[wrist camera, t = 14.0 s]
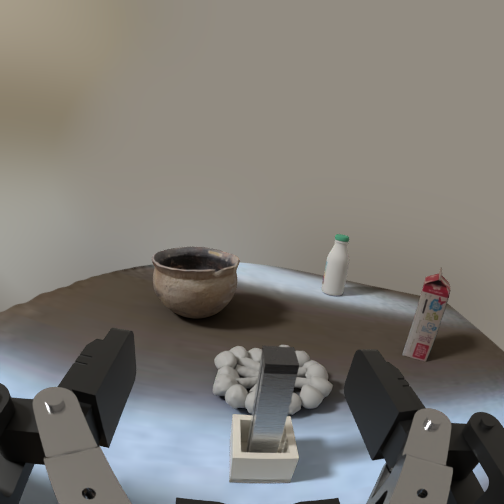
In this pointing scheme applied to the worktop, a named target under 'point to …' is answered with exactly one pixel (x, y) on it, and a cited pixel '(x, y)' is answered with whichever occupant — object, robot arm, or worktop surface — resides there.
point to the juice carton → (427, 317)
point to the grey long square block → (272, 398)
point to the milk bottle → (336, 267)
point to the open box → (261, 455)
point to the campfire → (247, 365)
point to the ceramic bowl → (195, 280)
